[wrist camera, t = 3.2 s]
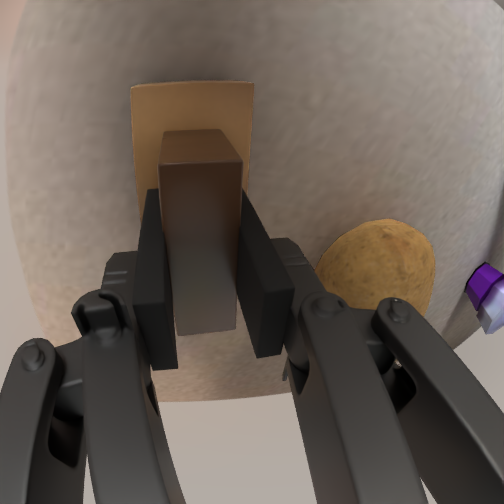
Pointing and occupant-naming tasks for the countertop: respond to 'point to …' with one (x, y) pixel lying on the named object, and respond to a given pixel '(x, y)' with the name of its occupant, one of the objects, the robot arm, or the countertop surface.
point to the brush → (196, 188)
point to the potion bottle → (487, 296)
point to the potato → (379, 265)
